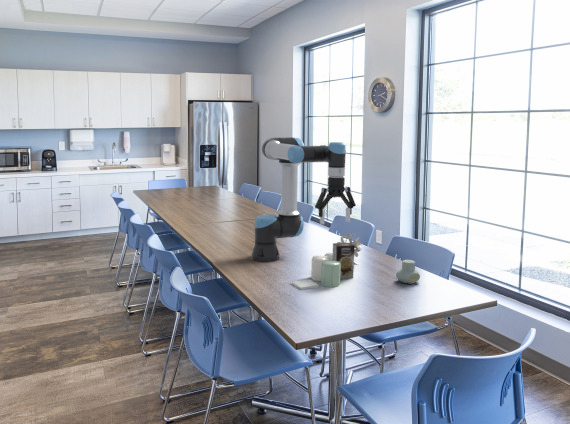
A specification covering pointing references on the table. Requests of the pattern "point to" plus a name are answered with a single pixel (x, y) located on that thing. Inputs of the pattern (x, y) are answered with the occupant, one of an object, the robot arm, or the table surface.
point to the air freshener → (408, 272)
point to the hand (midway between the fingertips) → (335, 222)
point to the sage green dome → (330, 273)
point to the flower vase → (351, 243)
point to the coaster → (305, 284)
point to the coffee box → (344, 258)
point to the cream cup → (317, 266)
